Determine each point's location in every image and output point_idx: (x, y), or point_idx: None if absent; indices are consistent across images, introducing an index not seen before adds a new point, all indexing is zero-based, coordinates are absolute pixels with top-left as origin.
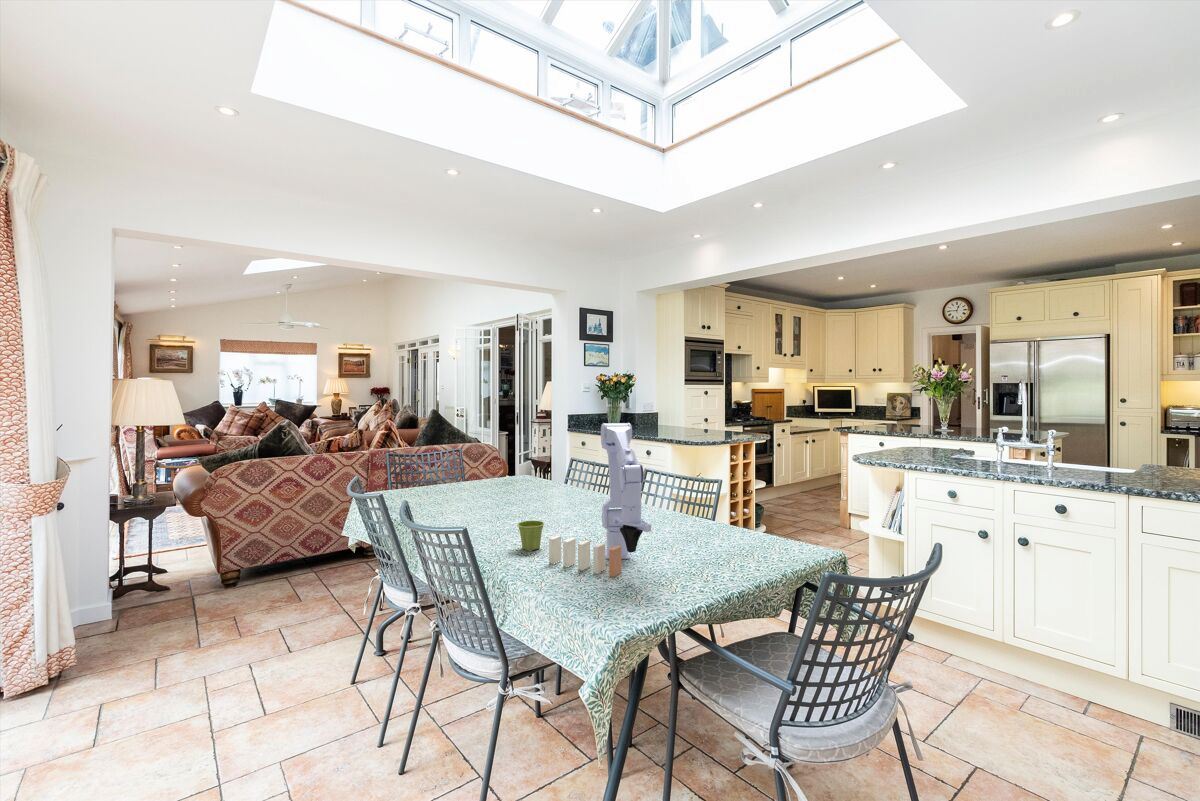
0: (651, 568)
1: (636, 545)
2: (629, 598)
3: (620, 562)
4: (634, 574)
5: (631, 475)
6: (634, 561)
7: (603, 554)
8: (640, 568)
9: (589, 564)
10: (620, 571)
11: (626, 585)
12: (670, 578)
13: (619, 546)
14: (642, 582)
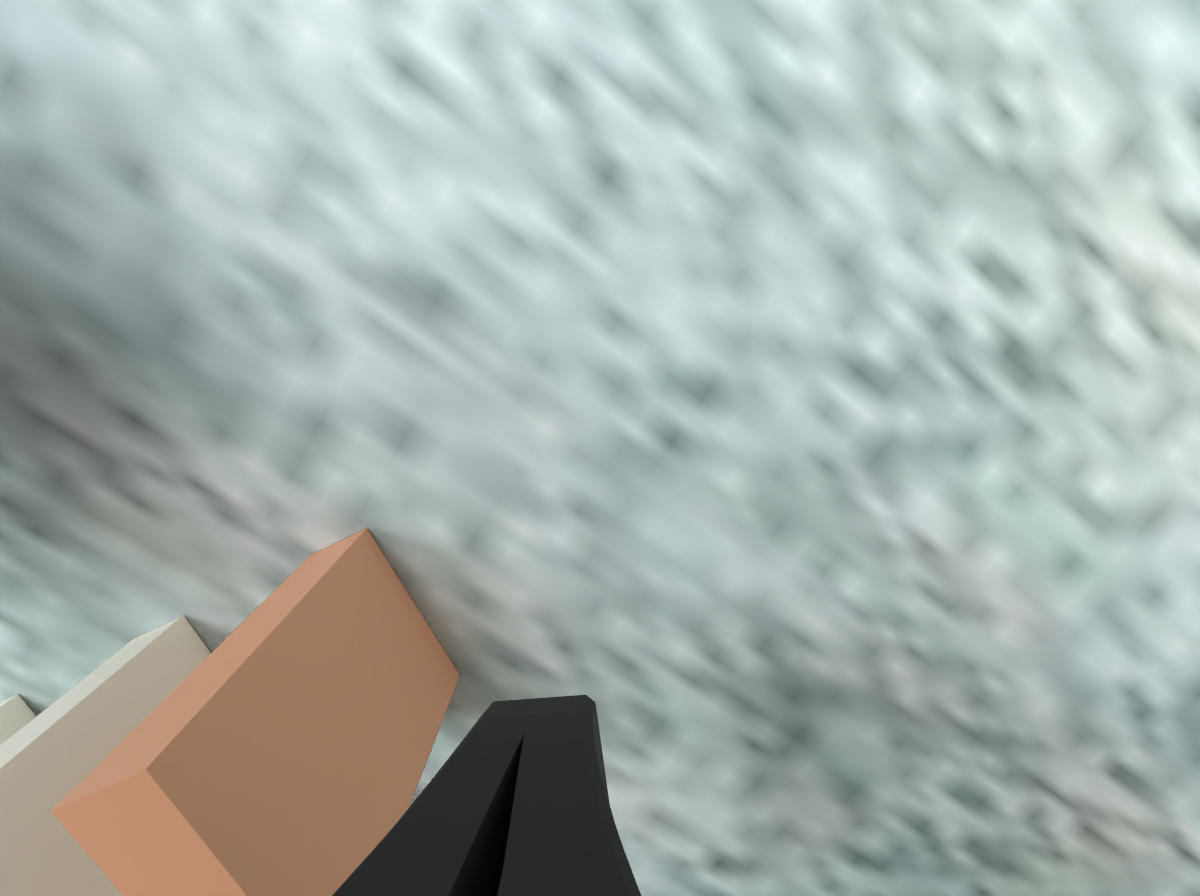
0: (418, 60)
1: (602, 789)
2: (1048, 870)
3: (320, 610)
4: (508, 432)
5: None
6: (18, 86)
7: (58, 798)
8: (342, 212)
9: (5, 725)
10: (368, 550)
11: (755, 710)
12: (925, 100)
13: (144, 802)
14: (794, 519)
